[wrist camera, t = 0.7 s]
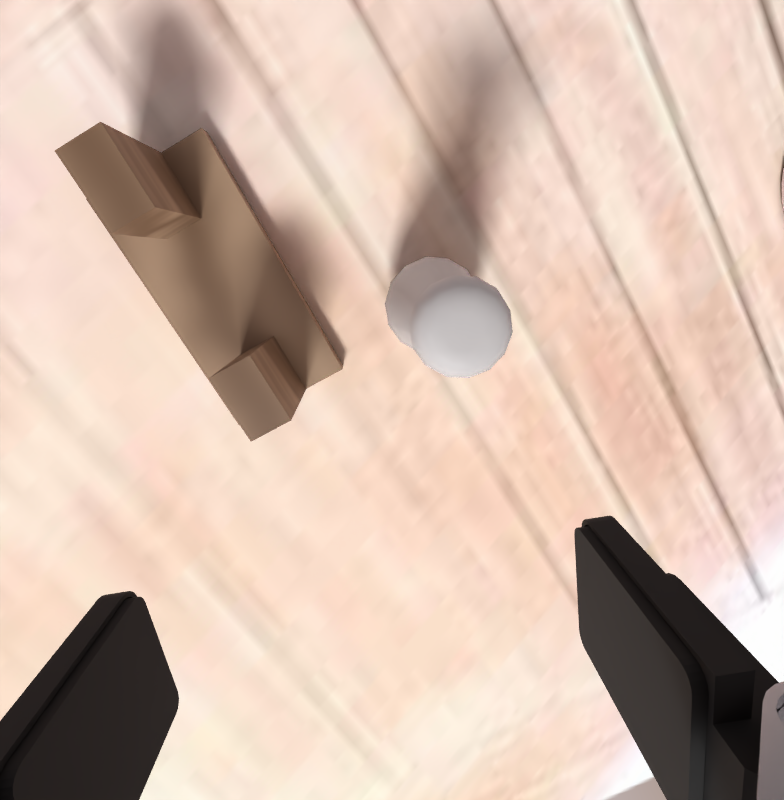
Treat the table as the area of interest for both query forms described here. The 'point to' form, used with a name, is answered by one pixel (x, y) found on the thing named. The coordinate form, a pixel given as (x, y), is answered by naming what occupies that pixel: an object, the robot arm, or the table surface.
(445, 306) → the salt shaker
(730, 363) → the table surface
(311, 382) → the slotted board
